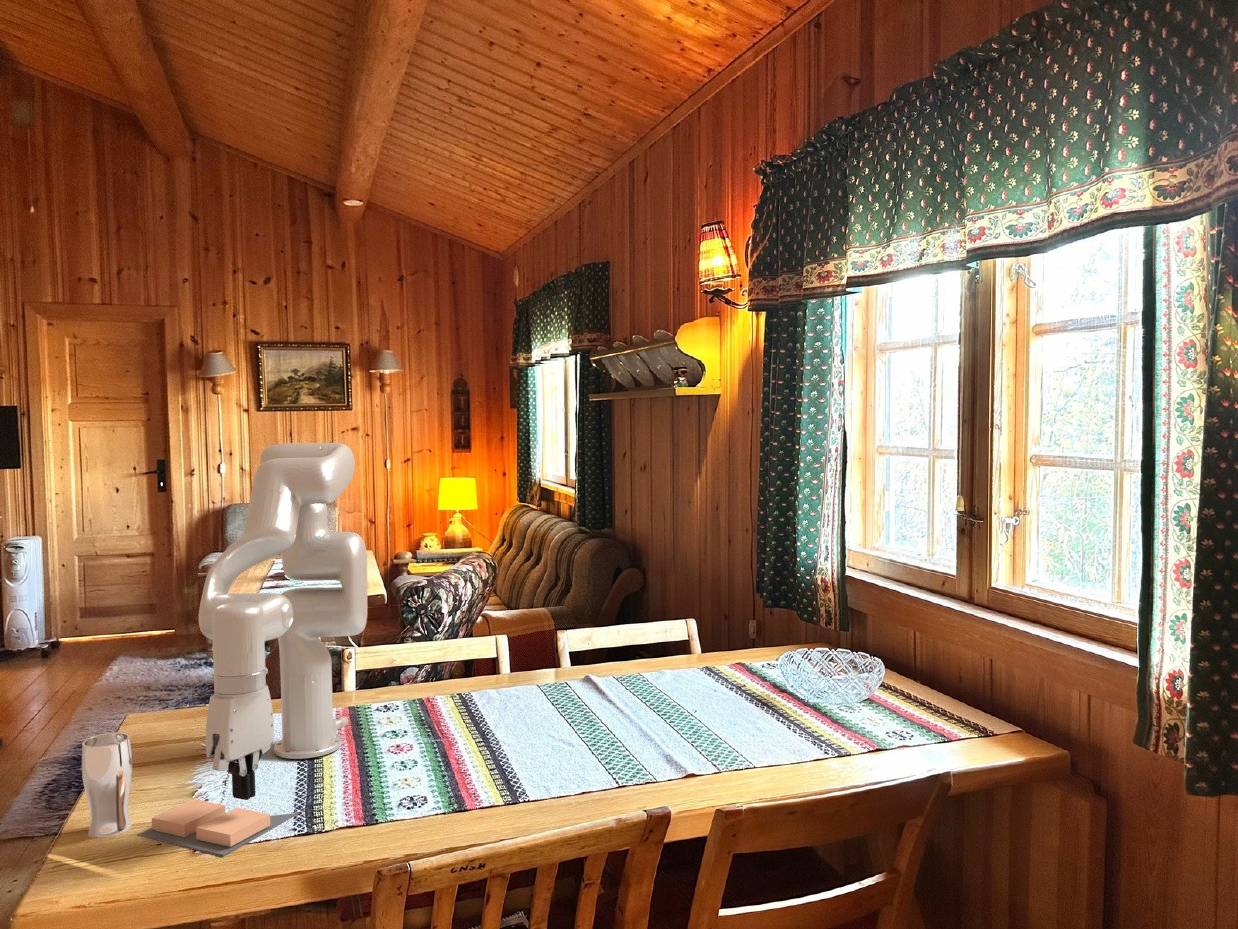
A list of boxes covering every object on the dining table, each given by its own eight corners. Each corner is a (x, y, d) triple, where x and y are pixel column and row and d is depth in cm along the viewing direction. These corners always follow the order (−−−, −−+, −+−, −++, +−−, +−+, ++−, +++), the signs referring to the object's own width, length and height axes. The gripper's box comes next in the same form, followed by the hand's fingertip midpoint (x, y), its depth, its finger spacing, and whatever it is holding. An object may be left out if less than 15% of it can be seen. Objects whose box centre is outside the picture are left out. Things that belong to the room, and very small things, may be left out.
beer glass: (79, 845, 142) (74, 749, 141) (92, 825, 149) (87, 734, 148) (129, 839, 144) (125, 745, 143) (139, 820, 151) (135, 729, 150)
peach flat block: (236, 807, 149) (196, 827, 141) (270, 814, 146) (230, 835, 139) (237, 820, 149) (196, 841, 142) (270, 827, 146) (230, 848, 139)
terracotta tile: (193, 799, 153) (151, 818, 145) (225, 805, 150) (184, 825, 142) (193, 811, 153) (152, 831, 145) (225, 818, 150) (184, 838, 143)
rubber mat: (228, 796, 160) (227, 792, 160) (309, 812, 153) (309, 808, 153) (137, 838, 144) (137, 835, 144) (223, 858, 137) (223, 854, 137)
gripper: (258, 668, 153) (261, 776, 154) (183, 692, 140) (187, 812, 140) (293, 672, 150) (296, 783, 151) (220, 698, 137) (224, 820, 137)
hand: (244, 796), depth 146 cm, fingers closed
